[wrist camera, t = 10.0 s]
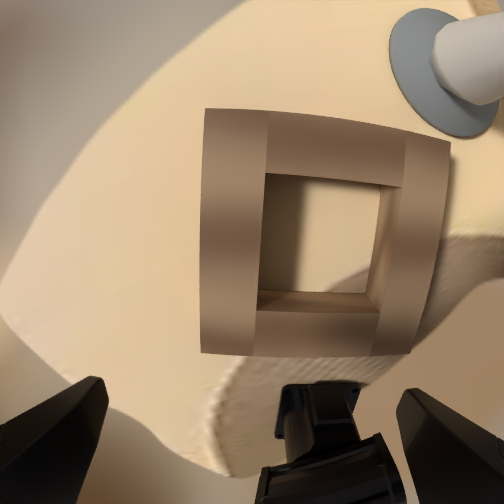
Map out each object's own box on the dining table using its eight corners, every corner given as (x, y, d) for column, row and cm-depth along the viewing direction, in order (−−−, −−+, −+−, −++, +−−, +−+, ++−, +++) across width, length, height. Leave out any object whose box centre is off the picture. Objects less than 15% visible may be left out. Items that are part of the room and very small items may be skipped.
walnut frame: (394, 332, 21) (409, 353, 19) (206, 328, 21) (200, 352, 18) (426, 142, 17) (450, 142, 15) (212, 116, 17) (205, 108, 14)
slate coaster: (494, 149, 17) (499, 150, 17) (388, 119, 17) (392, 118, 17) (488, 37, 14) (492, 36, 14) (384, -6, 14) (387, -9, 14)
